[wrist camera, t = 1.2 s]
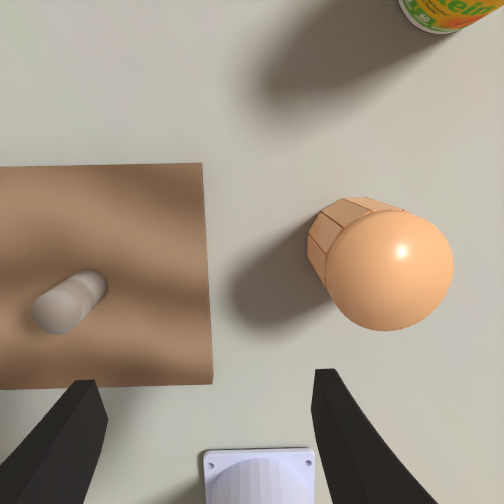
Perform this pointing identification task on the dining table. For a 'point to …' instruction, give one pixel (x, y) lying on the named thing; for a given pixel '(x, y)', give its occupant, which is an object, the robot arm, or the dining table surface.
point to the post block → (104, 276)
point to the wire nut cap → (380, 262)
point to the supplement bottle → (447, 13)
